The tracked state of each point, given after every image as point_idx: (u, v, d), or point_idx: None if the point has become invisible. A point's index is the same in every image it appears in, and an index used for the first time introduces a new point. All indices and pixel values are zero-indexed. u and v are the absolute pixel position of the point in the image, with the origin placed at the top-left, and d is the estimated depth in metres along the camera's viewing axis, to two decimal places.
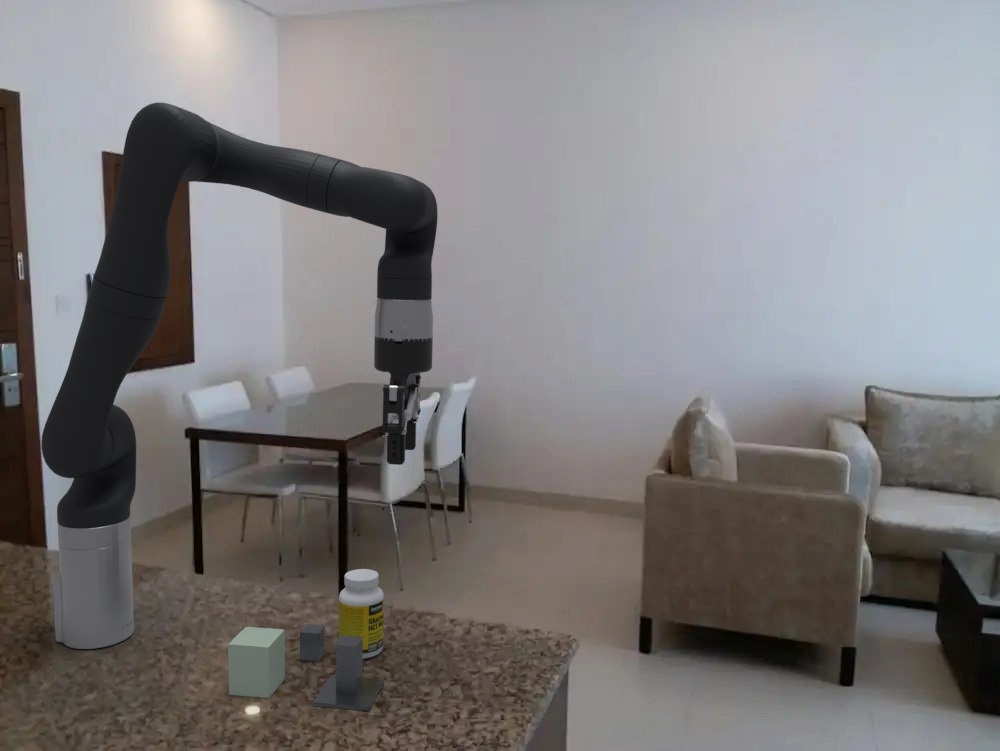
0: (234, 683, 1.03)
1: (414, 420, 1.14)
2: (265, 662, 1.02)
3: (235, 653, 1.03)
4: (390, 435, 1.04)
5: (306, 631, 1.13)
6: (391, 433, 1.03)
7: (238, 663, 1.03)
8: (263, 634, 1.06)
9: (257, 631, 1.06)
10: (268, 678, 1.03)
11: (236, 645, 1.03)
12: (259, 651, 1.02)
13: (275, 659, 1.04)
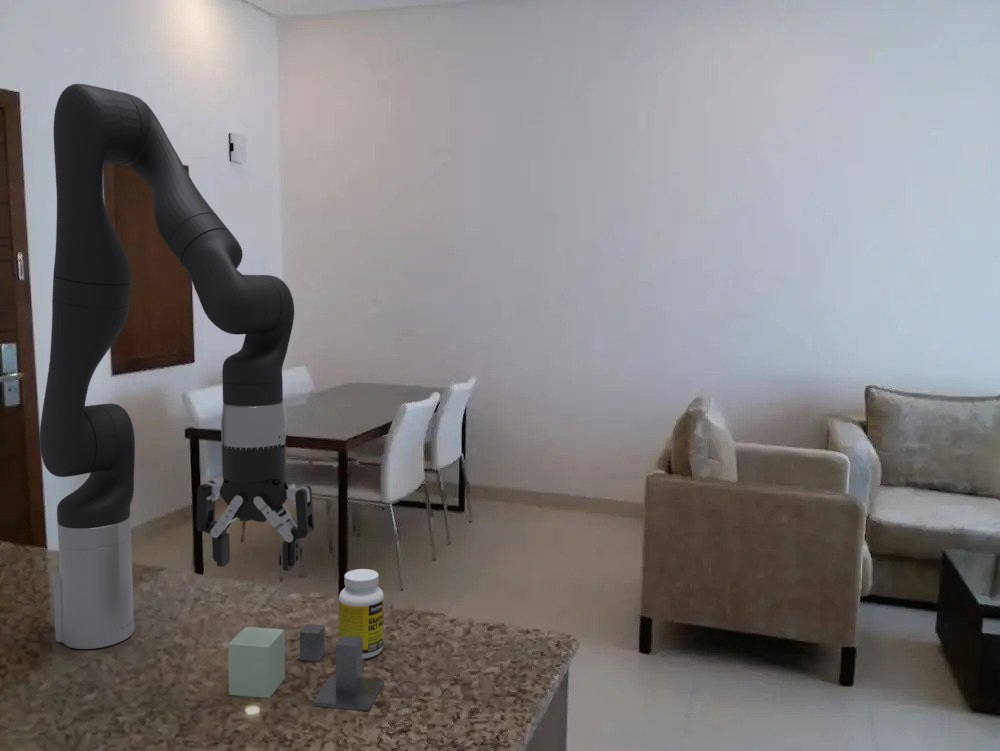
0: (234, 683, 1.03)
1: (226, 530, 1.05)
2: (265, 662, 1.02)
3: (235, 653, 1.03)
4: (296, 540, 1.02)
5: (306, 631, 1.13)
6: None
7: (238, 663, 1.03)
8: (263, 634, 1.06)
9: (257, 631, 1.06)
10: (268, 678, 1.03)
11: (236, 645, 1.03)
12: (259, 651, 1.02)
13: (275, 659, 1.04)
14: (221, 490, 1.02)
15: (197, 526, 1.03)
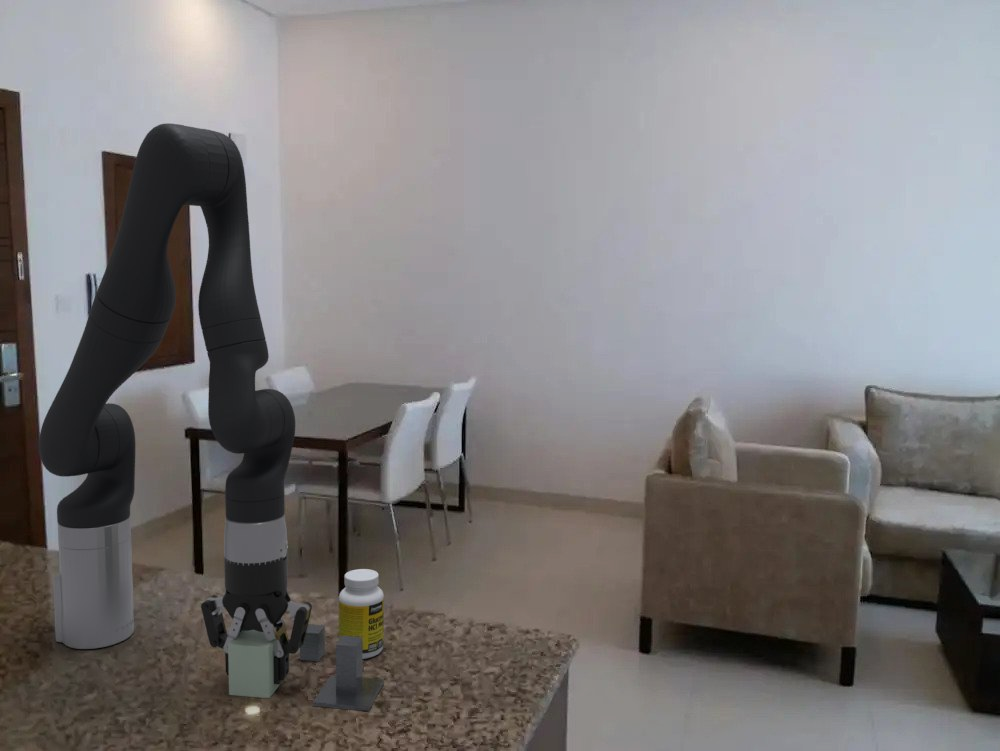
0: (234, 683, 1.03)
1: None
2: (265, 662, 1.02)
3: (235, 653, 1.03)
4: (286, 654, 1.04)
5: None
6: None
7: (238, 663, 1.03)
8: (263, 634, 1.06)
9: (257, 631, 1.06)
10: (268, 678, 1.03)
11: (236, 645, 1.03)
12: (259, 651, 1.02)
13: None
14: (223, 602, 1.04)
15: (210, 643, 1.04)
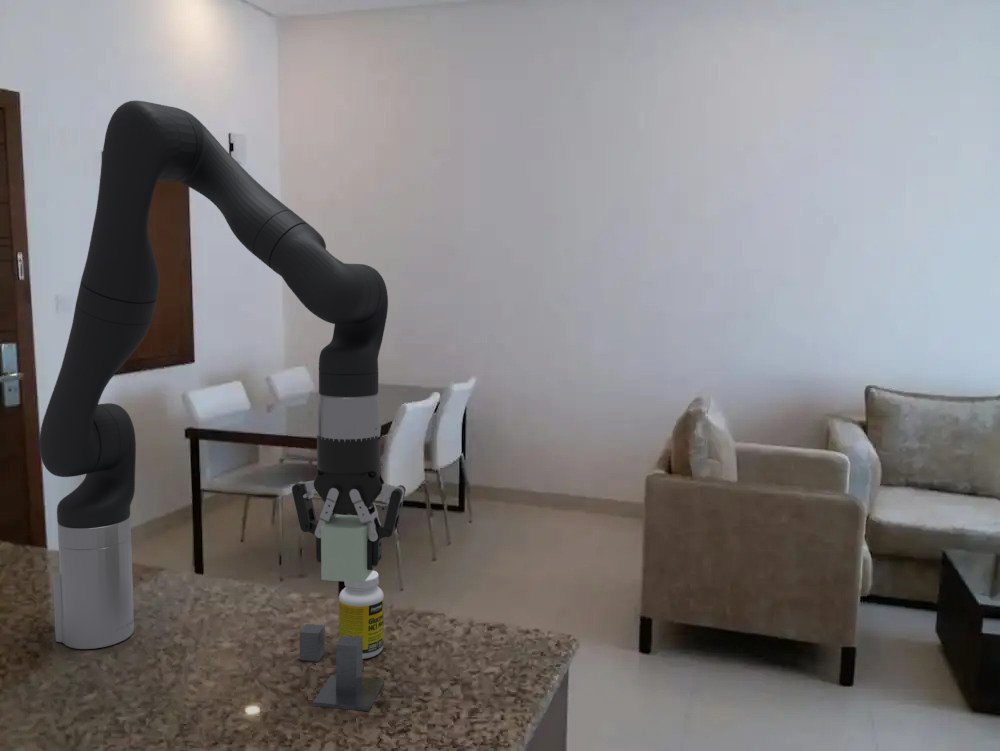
0: (327, 567, 1.00)
1: None
2: (359, 545, 0.99)
3: (328, 536, 0.99)
4: (380, 539, 1.01)
5: (306, 631, 1.13)
6: None
7: (331, 546, 0.99)
8: (354, 519, 1.02)
9: (347, 517, 1.03)
10: (362, 561, 0.99)
11: (329, 527, 0.99)
12: (353, 533, 0.99)
13: None
14: (315, 484, 1.00)
15: (301, 527, 1.01)
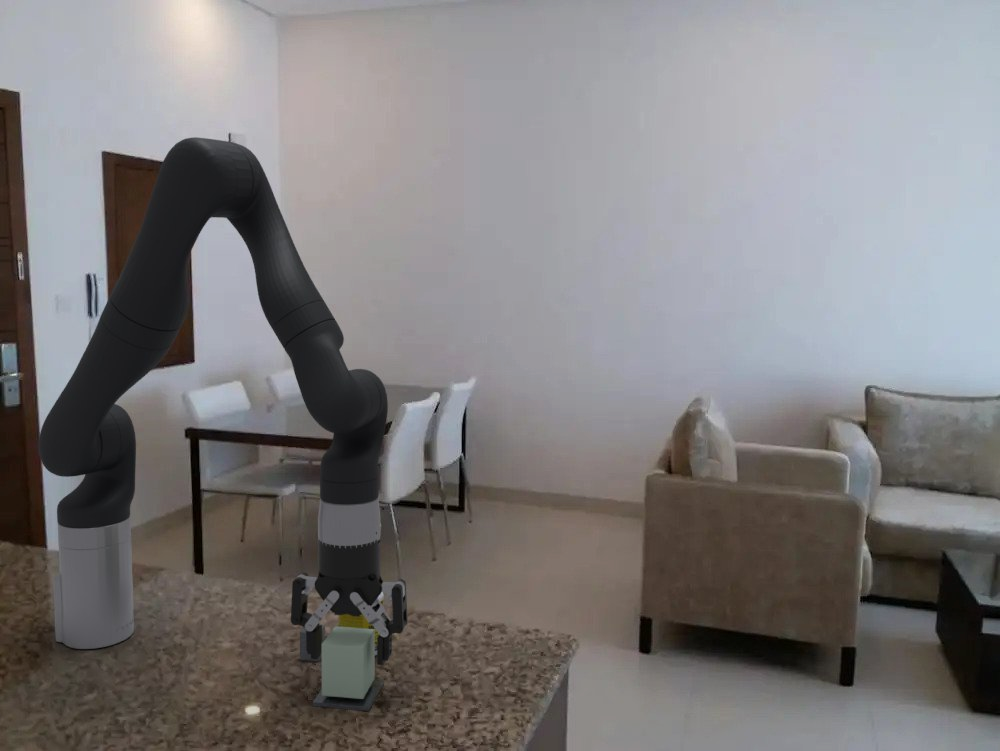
0: (327, 684, 1.01)
1: None
2: (359, 662, 1.01)
3: (328, 653, 1.01)
4: (391, 634, 1.02)
5: None
6: None
7: (331, 663, 1.01)
8: (354, 634, 1.04)
9: (347, 631, 1.05)
10: (362, 678, 1.01)
11: (330, 645, 1.01)
12: (353, 651, 1.01)
13: (367, 659, 1.03)
14: (316, 584, 1.02)
15: (291, 619, 1.03)
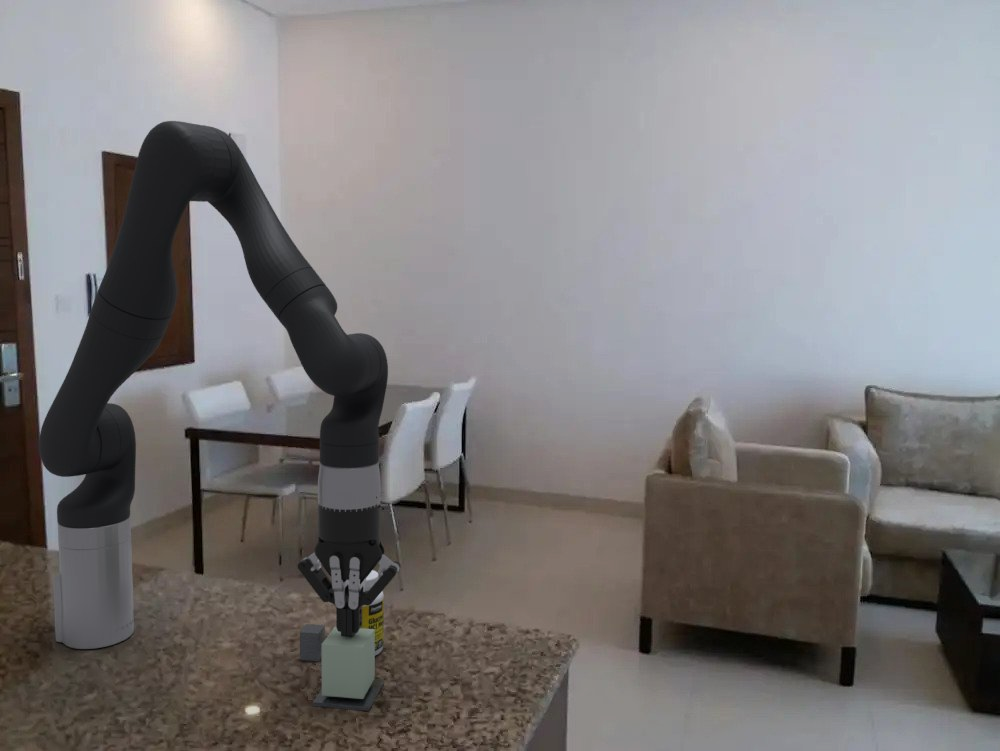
0: (327, 684, 1.01)
1: None
2: (359, 662, 1.01)
3: (328, 653, 1.01)
4: (360, 606, 1.02)
5: (306, 631, 1.13)
6: None
7: (331, 663, 1.01)
8: None
9: None
10: (362, 678, 1.01)
11: (330, 645, 1.01)
12: (353, 651, 1.01)
13: (367, 659, 1.03)
14: (317, 554, 1.01)
15: (322, 599, 1.02)
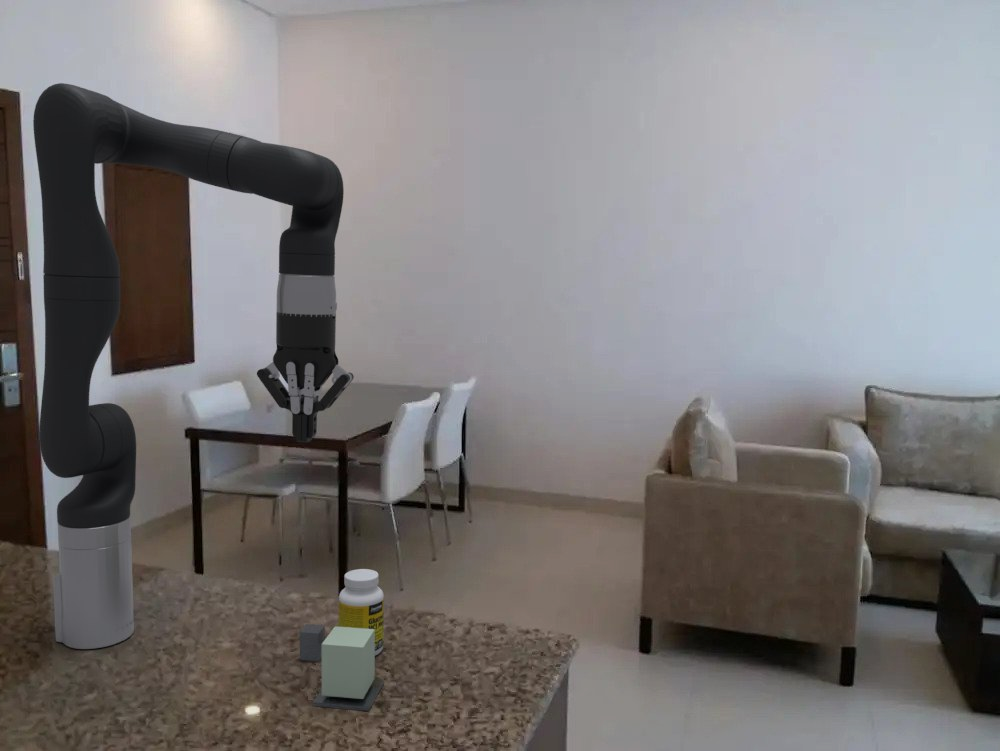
0: (327, 684, 1.01)
1: None
2: (359, 662, 1.01)
3: (328, 653, 1.01)
4: (315, 413, 1.09)
5: (306, 631, 1.13)
6: None
7: (331, 663, 1.01)
8: (354, 634, 1.04)
9: (347, 631, 1.05)
10: (362, 678, 1.01)
11: (330, 645, 1.01)
12: (353, 651, 1.01)
13: (367, 659, 1.03)
14: (275, 362, 1.08)
15: (279, 405, 1.09)
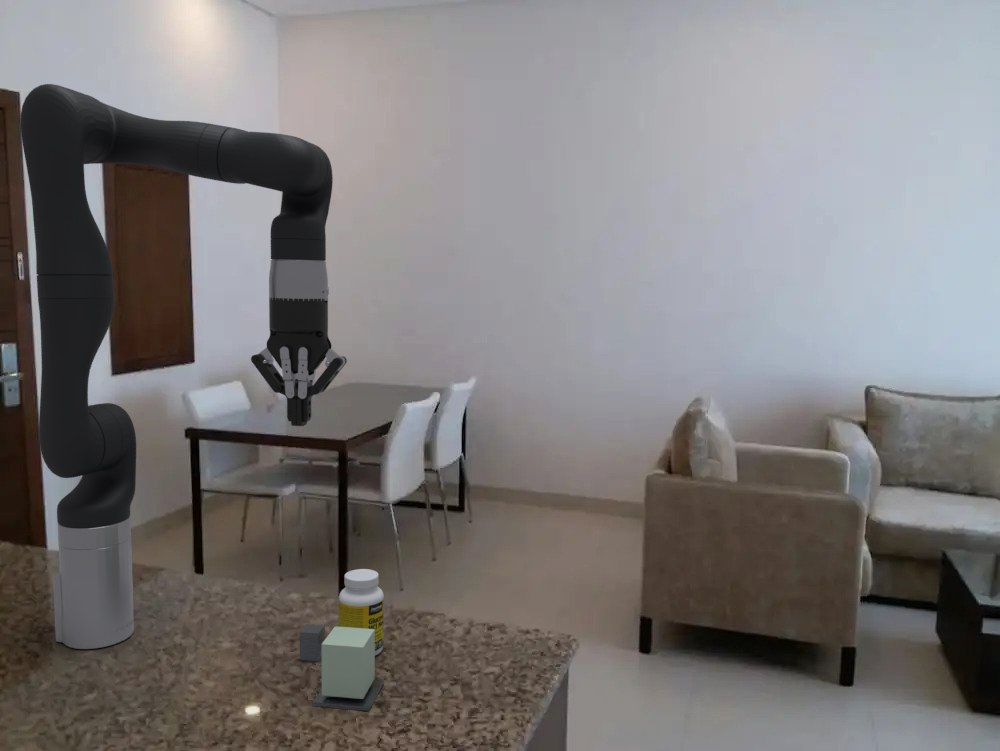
0: (327, 684, 1.01)
1: None
2: (359, 662, 1.01)
3: (328, 653, 1.01)
4: (309, 397, 1.10)
5: (306, 631, 1.13)
6: None
7: (331, 663, 1.01)
8: (354, 634, 1.04)
9: (347, 631, 1.05)
10: (362, 678, 1.01)
11: (330, 645, 1.01)
12: (353, 651, 1.01)
13: (367, 659, 1.03)
14: (268, 347, 1.09)
15: (274, 389, 1.10)
